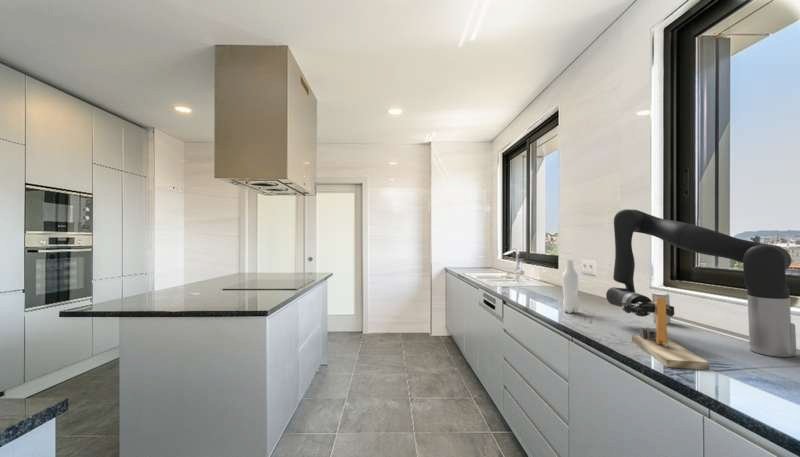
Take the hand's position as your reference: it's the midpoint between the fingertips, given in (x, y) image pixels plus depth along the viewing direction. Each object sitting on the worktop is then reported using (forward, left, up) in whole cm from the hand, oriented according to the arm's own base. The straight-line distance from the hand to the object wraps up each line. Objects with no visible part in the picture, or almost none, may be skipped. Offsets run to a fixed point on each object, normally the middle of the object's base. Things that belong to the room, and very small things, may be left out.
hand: (656, 312), depth 118 cm
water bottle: (+15, -56, -12) cm, 59 cm away
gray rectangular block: (0, -3, -9) cm, 10 cm away
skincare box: (-17, -40, -12) cm, 45 cm away
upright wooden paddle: (0, +2, -9) cm, 9 cm away
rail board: (0, +5, -11) cm, 13 cm away
